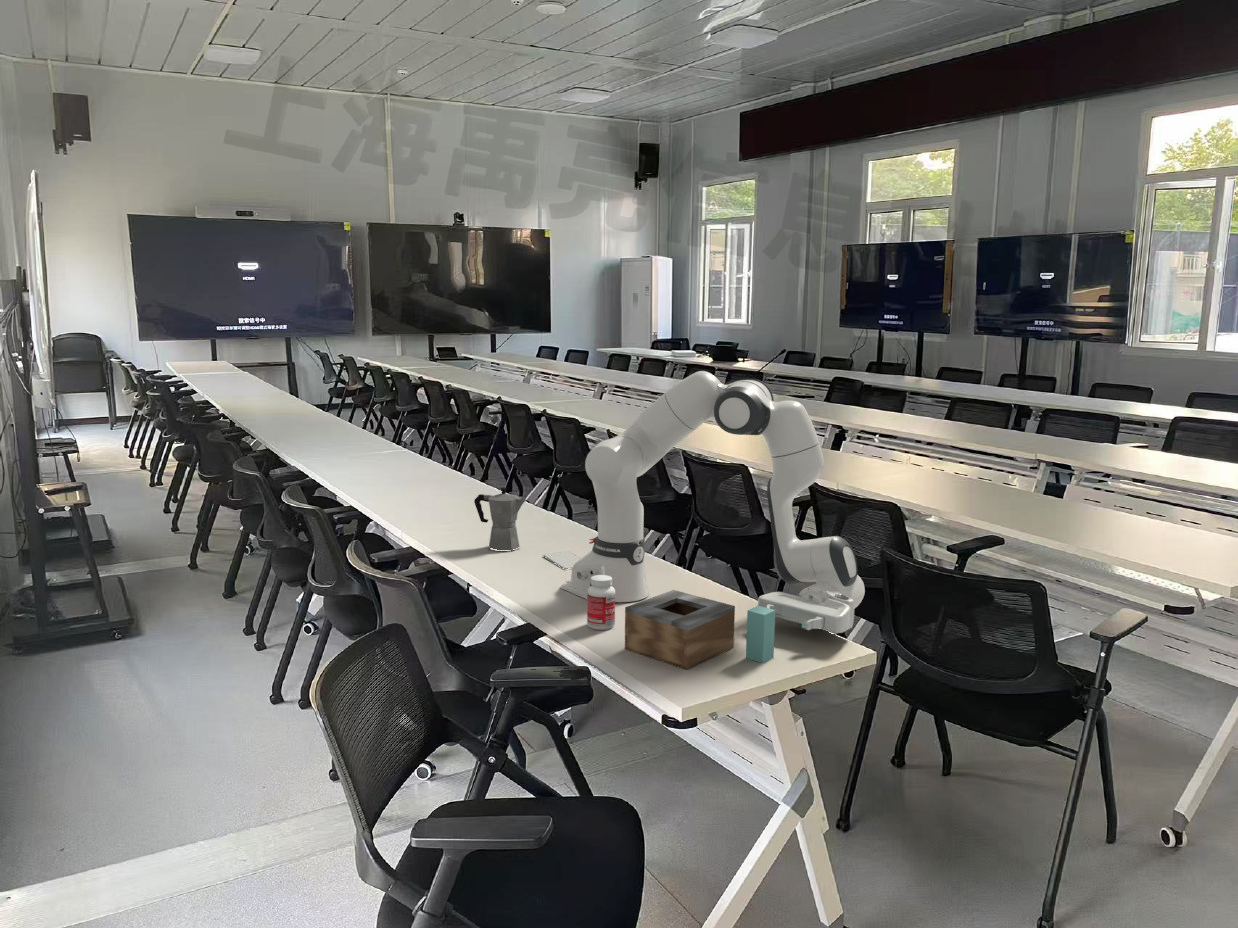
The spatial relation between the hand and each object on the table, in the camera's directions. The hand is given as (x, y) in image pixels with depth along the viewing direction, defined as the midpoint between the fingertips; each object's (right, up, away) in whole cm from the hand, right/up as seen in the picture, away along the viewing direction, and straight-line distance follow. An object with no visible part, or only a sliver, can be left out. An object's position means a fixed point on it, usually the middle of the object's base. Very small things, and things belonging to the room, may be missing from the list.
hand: (784, 620), depth 191 cm
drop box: (-22, -5, -1) cm, 23 cm away
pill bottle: (-38, -3, +11) cm, 40 cm away
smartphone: (-49, +5, +63) cm, 80 cm away
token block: (-6, -6, -6) cm, 11 cm away
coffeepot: (-69, +8, +76) cm, 103 cm away
